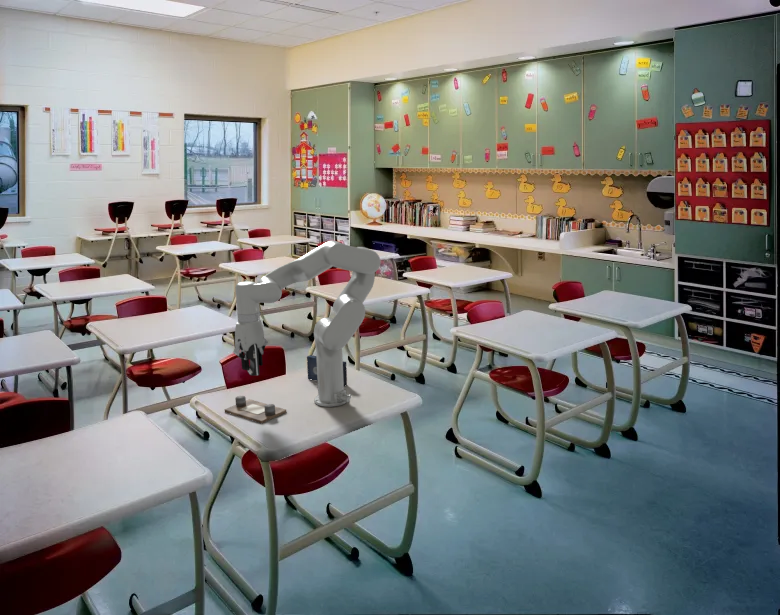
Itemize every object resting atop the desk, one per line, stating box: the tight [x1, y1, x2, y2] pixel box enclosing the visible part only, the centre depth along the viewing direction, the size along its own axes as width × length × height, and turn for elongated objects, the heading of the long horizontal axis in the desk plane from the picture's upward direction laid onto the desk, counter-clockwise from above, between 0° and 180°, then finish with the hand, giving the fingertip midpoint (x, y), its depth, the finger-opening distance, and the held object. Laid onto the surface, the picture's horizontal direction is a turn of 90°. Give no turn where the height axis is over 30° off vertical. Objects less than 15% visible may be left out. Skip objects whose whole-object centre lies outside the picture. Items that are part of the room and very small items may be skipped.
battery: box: [244, 344, 260, 377], centre depth 224 cm, size 7×4×11 cm, turn 25°
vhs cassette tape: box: [306, 354, 348, 387], centre depth 258 cm, size 18×3×10 cm, turn 57°
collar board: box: [224, 395, 287, 424], centre depth 229 cm, size 19×12×4 cm, turn 55°
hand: (252, 366), depth 225 cm, fingers closed on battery, 5 cm apart
